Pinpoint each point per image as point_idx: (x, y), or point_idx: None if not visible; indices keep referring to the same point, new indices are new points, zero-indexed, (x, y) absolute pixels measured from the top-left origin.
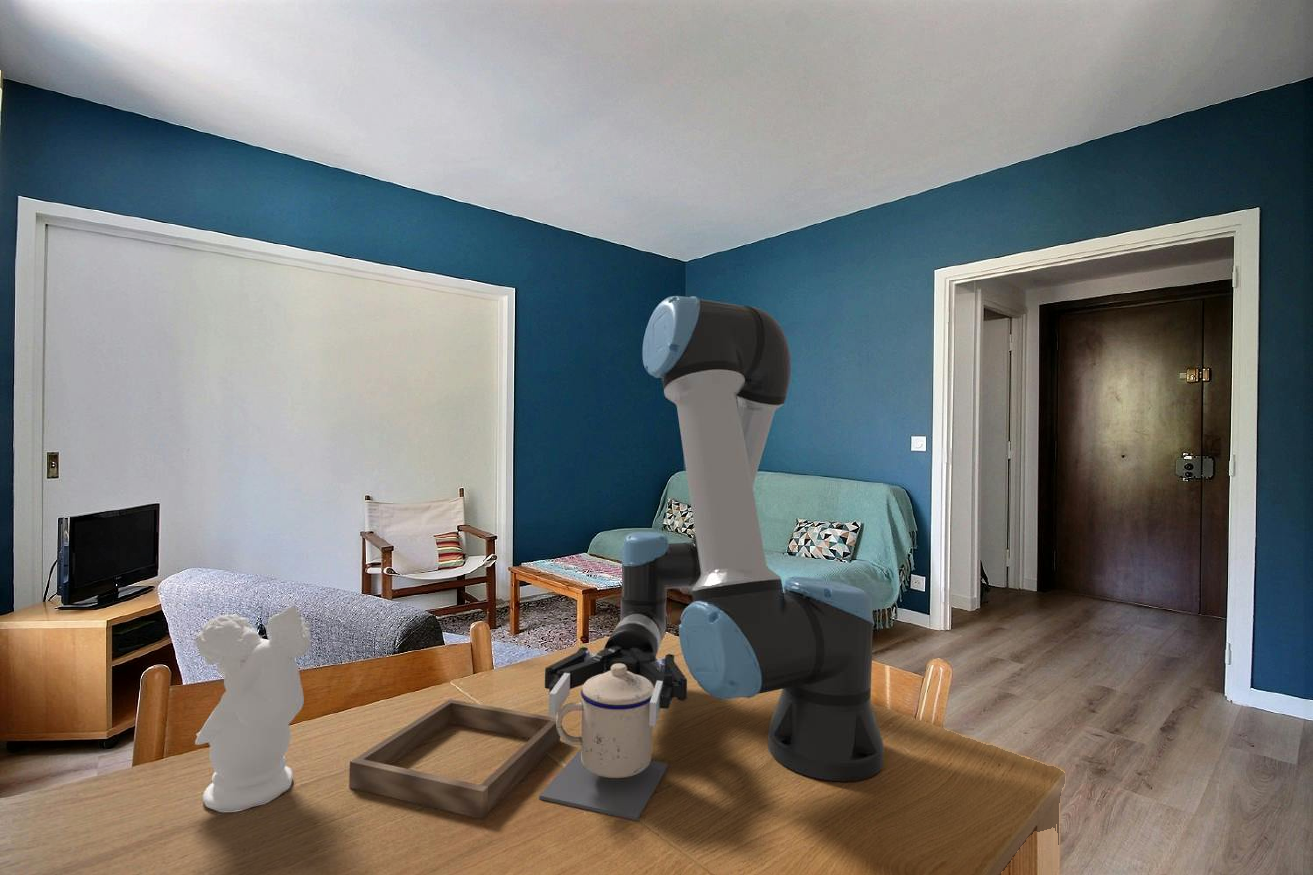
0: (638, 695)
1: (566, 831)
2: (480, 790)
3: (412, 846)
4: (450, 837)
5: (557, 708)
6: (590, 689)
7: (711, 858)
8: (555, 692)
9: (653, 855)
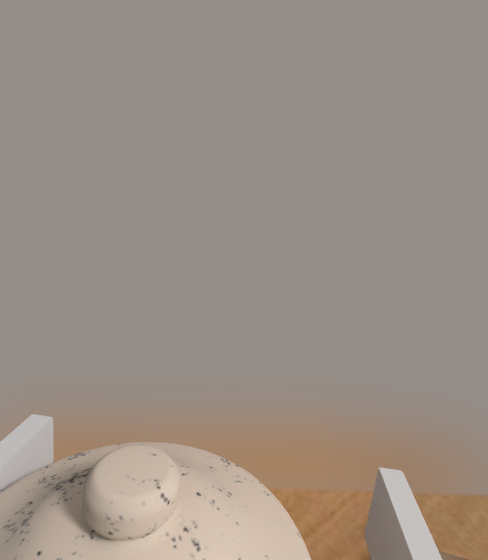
0: (69, 458)
1: None
2: (444, 553)
3: (470, 525)
4: (435, 543)
5: (375, 551)
6: (263, 497)
7: None
8: (386, 478)
9: None
